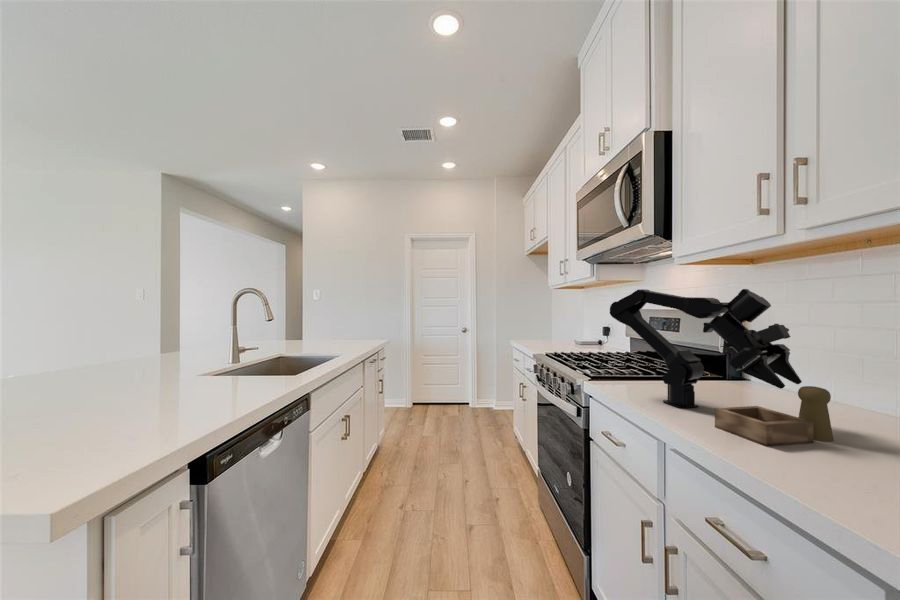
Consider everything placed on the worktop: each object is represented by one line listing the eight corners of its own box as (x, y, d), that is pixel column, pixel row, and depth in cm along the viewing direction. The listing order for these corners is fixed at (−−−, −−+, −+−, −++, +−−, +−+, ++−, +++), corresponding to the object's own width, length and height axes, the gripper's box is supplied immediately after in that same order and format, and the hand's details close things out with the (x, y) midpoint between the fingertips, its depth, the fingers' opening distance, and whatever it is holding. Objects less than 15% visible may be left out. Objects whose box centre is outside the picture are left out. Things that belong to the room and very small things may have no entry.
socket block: (714, 427, 87) (714, 408, 87) (756, 424, 90) (756, 405, 90) (766, 446, 76) (766, 424, 76) (813, 442, 78) (813, 421, 78)
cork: (821, 442, 78) (821, 391, 78) (788, 433, 84) (788, 384, 84) (840, 440, 79) (840, 389, 79) (807, 430, 85) (807, 383, 85)
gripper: (744, 313, 85) (808, 367, 75) (779, 312, 94) (840, 361, 85) (707, 344, 92) (761, 397, 82) (743, 340, 101) (796, 388, 91)
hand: (791, 385), depth 85 cm, fingers open, 9 cm apart
